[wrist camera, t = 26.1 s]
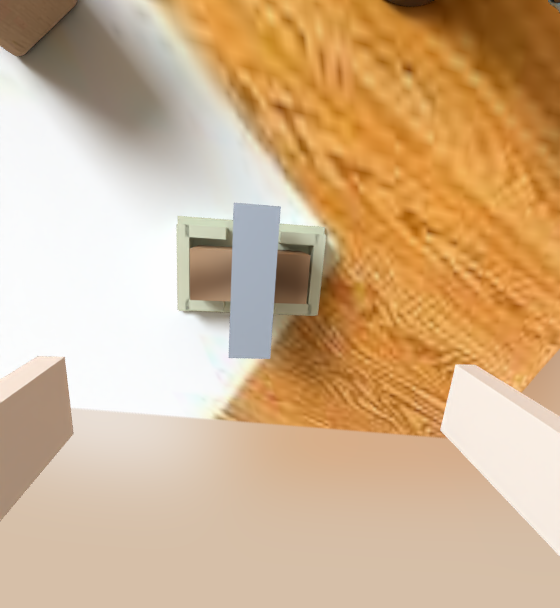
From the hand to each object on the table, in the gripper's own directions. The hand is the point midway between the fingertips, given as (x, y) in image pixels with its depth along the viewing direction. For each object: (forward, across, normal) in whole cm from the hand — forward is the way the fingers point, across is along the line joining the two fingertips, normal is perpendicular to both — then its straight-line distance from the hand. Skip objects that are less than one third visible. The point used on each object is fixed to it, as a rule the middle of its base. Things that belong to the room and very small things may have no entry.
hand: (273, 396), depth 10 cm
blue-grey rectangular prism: (+26, 0, 0) cm, 26 cm away
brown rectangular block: (+33, 0, 0) cm, 33 cm away
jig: (+34, 0, 0) cm, 34 cm away
